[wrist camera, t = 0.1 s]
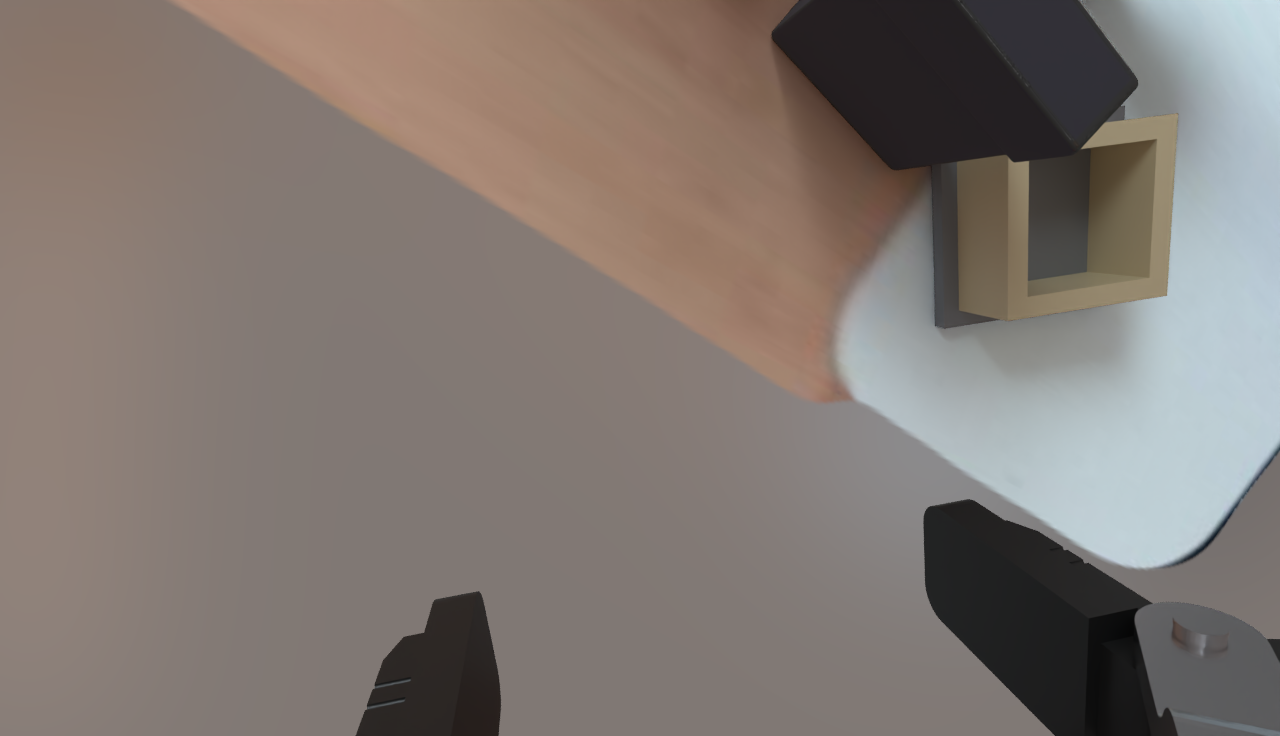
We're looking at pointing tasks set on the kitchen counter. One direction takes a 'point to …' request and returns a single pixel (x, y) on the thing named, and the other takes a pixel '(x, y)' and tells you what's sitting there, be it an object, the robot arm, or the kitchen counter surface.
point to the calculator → (960, 75)
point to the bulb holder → (1056, 226)
